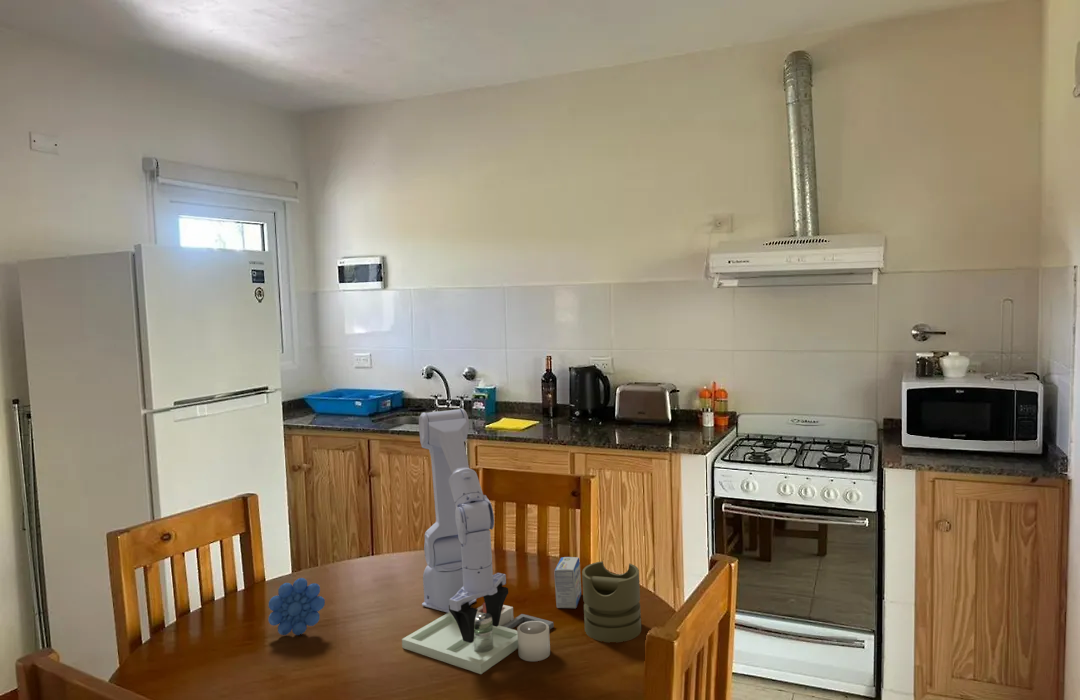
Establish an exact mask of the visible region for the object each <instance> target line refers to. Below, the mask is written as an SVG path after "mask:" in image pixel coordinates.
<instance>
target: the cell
mask: <svg viewBox="0 0 1080 700" xmlns="http://www.w3.org/2000/svg"><path fill="white" fill-rule="evenodd" d="M472 644H473V650H474V651H475V652H479V653H484V652H488V651H490V650H492V649H493V647H494V645H493V623H492V615H491V614H489V613H478V614H476V617H475V623H474V641H473V642H472Z"/></svg>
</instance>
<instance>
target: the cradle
mask: <svg viewBox="0 0 1080 700" xmlns="http://www.w3.org/2000/svg"><path fill="white" fill-rule="evenodd" d="M528 621H541V622H544V623H546V624H548V626H549V631H550V630H551V629H553V628H554V627H555V626H554V625H555V624H554V621H551V620H547V619H543V618H540V617H536V616H532V615H529V614H524V613H521V614H519V615H518V616H516V617H514V619H513V620H512V621H510V622H509V623H507V624H505V625H504V626H503V627H506V628H510V629H514V628H515V627H518V626H519V625H520V624H522V623H524V622H528Z"/></svg>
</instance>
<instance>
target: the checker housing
mask: <svg viewBox="0 0 1080 700" xmlns="http://www.w3.org/2000/svg"><path fill="white" fill-rule="evenodd" d="M476 609H478V611H477V613H476V614H478V613H483V604H482V605H481V606H478V607H477V608H476ZM513 619H515V617H514V607H513V606H510V605H506V604H503V607H502V611H501V615H500V621H499V626H504V625H505V624H507V623H509V622H510V621H512V620H513Z"/></svg>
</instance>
